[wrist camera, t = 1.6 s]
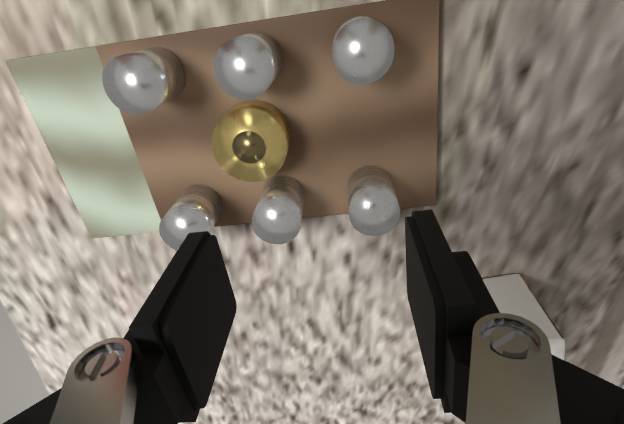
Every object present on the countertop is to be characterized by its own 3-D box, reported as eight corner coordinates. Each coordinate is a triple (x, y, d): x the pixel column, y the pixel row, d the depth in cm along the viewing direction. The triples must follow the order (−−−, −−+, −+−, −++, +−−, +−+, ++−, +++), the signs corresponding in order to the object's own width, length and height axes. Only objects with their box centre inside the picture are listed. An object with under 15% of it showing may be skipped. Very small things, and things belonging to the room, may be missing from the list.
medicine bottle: (519, 335, 33) (604, 489, 23) (435, 346, 34) (479, 497, 24) (519, 270, 30) (619, 415, 20) (427, 285, 31) (473, 429, 21)
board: (14, 59, 24) (4, 60, 24) (436, -8, 21) (439, -8, 21) (97, 232, 30) (91, 238, 30) (433, 199, 27) (436, 204, 27)
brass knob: (214, 104, 24) (202, 114, 22) (284, 95, 24) (279, 104, 21) (231, 170, 26) (221, 186, 24) (296, 162, 26) (292, 178, 24)
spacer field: (129, 50, 23) (92, 59, 19) (383, 11, 21) (393, 13, 18) (188, 223, 29) (167, 254, 25) (392, 203, 27) (401, 233, 23)
